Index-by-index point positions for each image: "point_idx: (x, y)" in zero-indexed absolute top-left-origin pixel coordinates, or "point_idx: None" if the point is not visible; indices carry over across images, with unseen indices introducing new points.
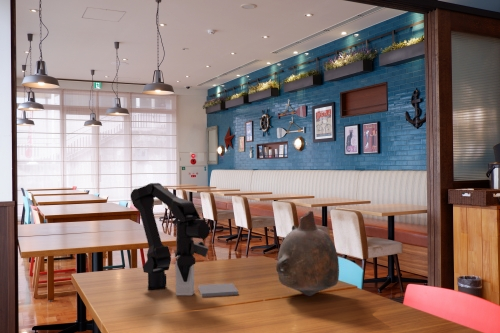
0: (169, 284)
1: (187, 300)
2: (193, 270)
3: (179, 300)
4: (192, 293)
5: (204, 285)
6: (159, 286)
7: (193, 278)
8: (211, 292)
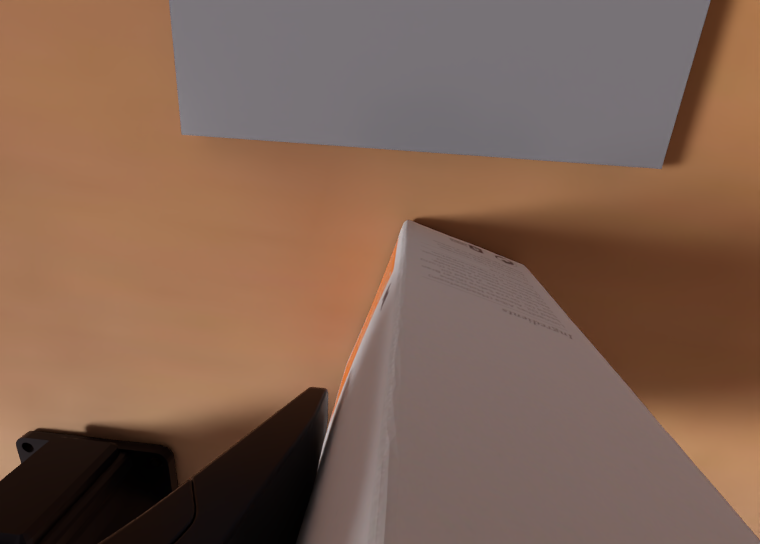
0: (4, 389)
1: (689, 336)
2: (475, 386)
3: (645, 401)
4: (512, 262)
5: (216, 50)
6: (153, 500)
7: (472, 301)
8: (671, 14)
